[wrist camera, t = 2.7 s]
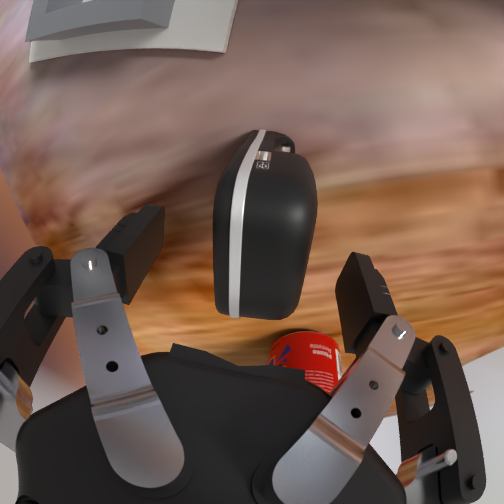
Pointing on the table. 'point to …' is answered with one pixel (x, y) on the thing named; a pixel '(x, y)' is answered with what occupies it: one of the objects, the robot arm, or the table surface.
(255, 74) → the table surface
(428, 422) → the robot arm
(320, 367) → the soda can
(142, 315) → the table surface
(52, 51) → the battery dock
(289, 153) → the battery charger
